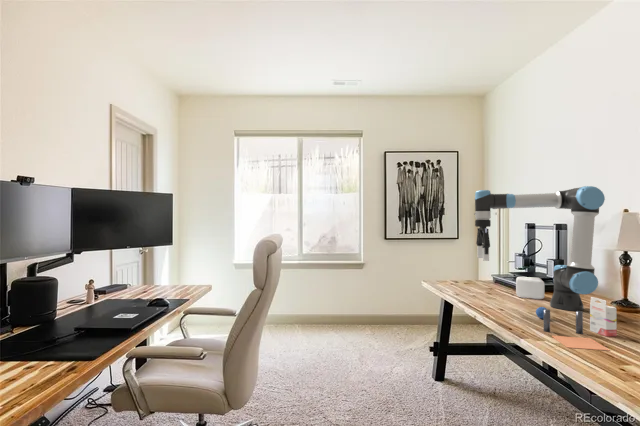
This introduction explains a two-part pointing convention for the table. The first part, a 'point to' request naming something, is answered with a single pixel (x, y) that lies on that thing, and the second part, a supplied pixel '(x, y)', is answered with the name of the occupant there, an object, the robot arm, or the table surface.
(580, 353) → the table surface
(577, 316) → the post
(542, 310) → the ball
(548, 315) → the post
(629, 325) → the table surface
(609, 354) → the table surface
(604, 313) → the ink cartridge box
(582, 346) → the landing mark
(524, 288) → the cable organizer
